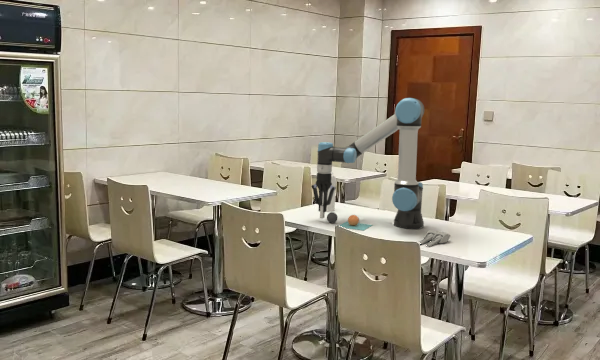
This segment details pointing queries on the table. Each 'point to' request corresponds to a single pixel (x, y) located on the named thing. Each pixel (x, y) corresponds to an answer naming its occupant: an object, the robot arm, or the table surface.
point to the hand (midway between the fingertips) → (322, 217)
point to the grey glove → (435, 237)
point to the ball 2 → (353, 220)
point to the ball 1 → (332, 217)
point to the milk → (332, 204)
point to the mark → (357, 227)
